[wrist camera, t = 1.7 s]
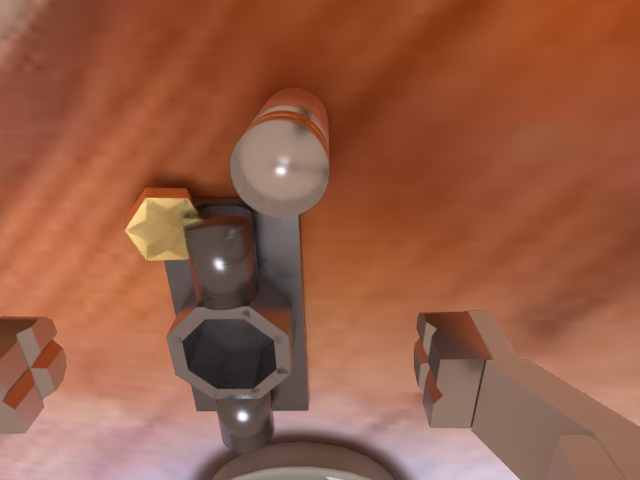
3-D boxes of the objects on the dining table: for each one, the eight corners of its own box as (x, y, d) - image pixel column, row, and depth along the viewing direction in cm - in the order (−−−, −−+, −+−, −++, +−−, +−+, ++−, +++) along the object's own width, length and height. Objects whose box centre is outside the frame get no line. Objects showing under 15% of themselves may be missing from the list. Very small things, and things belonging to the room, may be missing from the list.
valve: (327, 86, 27) (328, 120, 18) (329, 155, 29) (330, 216, 20) (257, 88, 27) (224, 122, 18) (263, 157, 29) (235, 218, 20)
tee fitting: (298, 195, 30) (292, 228, 25) (309, 401, 39) (306, 454, 35) (156, 198, 31) (125, 231, 26) (199, 402, 40) (182, 455, 35)
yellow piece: (176, 172, 29) (178, 181, 27) (212, 232, 31) (216, 244, 30) (114, 202, 28) (112, 214, 27) (156, 261, 31) (157, 274, 29)
